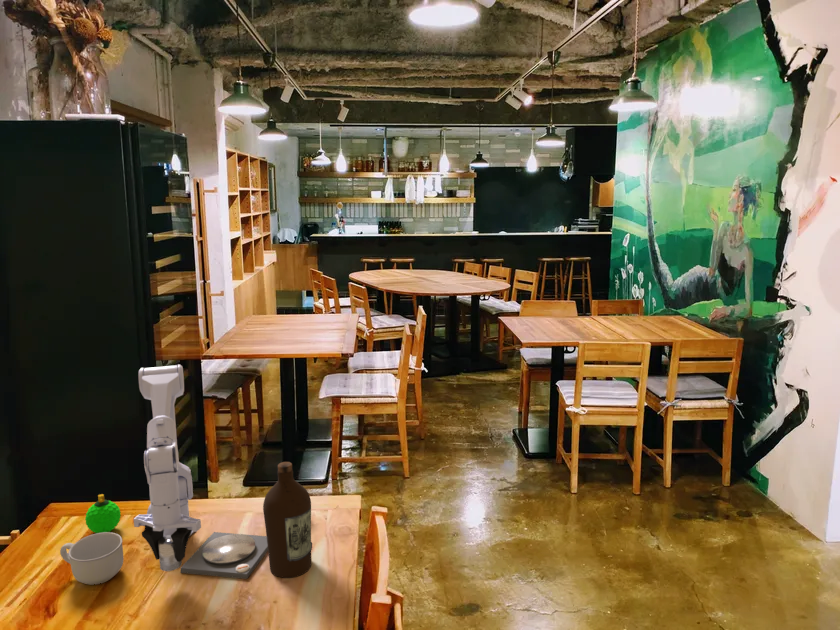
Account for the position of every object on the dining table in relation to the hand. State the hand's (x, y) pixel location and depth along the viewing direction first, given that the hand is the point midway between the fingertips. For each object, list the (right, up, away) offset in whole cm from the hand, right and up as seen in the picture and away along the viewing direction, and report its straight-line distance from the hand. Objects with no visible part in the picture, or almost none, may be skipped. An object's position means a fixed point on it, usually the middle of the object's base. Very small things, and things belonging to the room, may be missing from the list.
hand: (170, 558), depth 139 cm
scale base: (+9, -4, +13) cm, 16 cm away
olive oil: (+25, -5, +8) cm, 26 cm away
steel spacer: (0, -2, 0) cm, 2 cm away
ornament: (-26, -3, +25) cm, 36 cm away
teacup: (-20, -6, +6) cm, 21 cm away
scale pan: (+9, -3, +12) cm, 16 cm away
